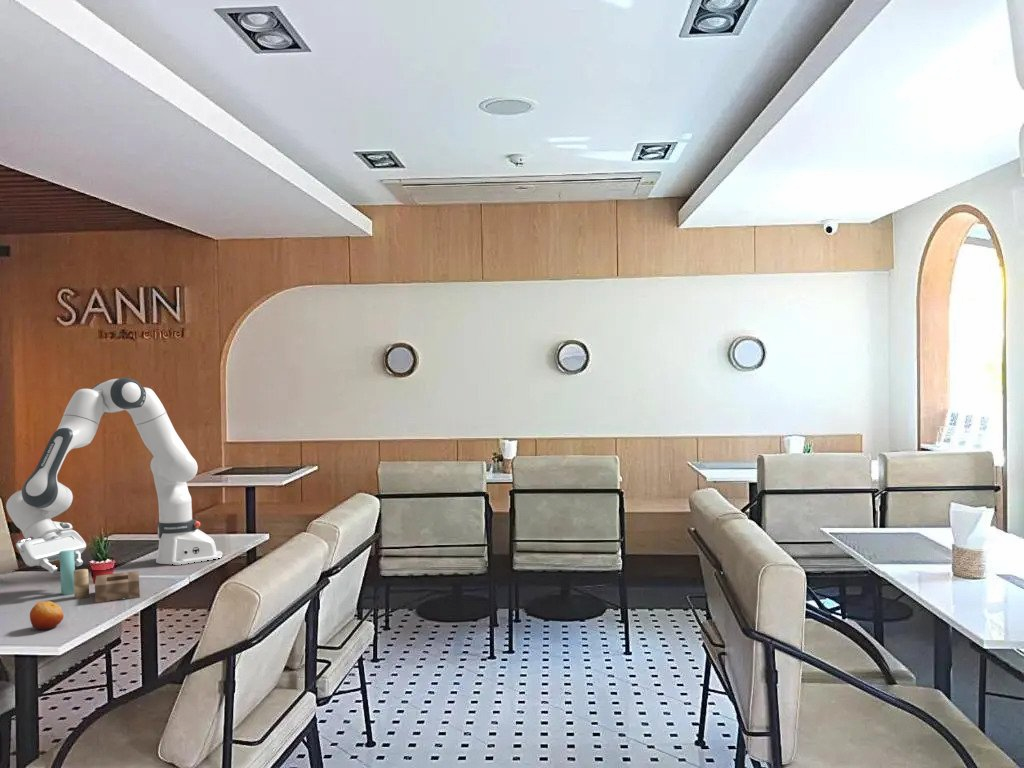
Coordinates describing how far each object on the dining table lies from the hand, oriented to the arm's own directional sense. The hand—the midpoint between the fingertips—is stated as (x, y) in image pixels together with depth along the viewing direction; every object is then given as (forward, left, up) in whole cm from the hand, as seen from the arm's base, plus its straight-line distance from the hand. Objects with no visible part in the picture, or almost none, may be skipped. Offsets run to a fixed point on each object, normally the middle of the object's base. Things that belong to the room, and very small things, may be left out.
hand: (67, 568), depth 271 cm
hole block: (-14, +10, -8) cm, 19 cm away
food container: (+7, -47, -8) cm, 48 cm away
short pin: (-4, +7, -8) cm, 11 cm away
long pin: (0, 0, -8) cm, 8 cm away
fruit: (+3, +39, -8) cm, 40 cm away
